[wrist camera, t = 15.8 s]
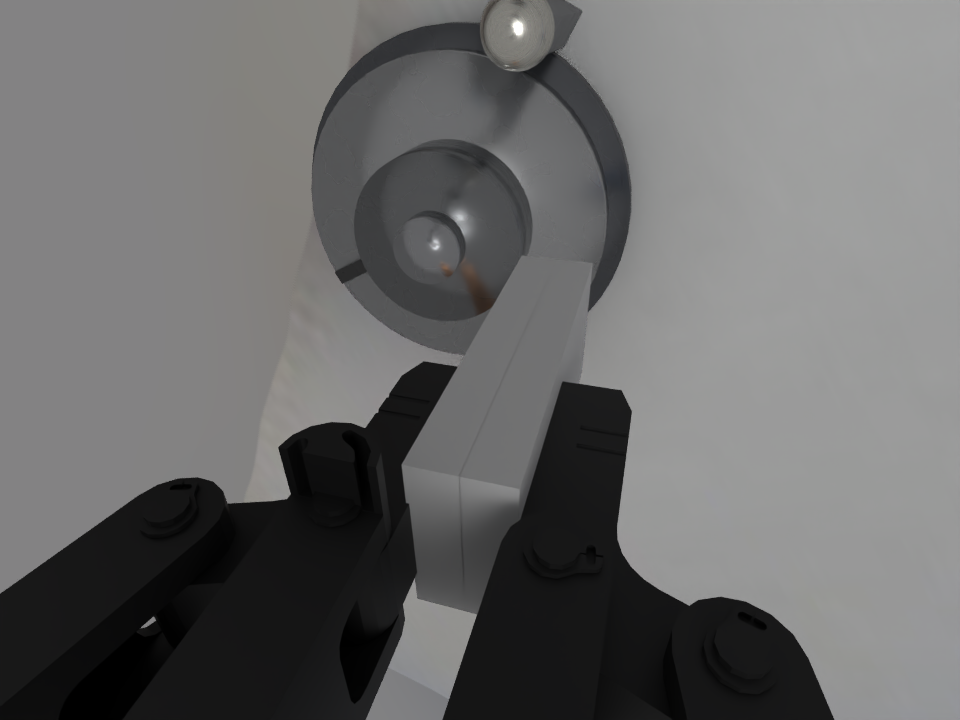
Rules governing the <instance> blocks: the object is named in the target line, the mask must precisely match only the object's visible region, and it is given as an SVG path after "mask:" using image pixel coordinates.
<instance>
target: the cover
mask: <svg viewBox="0 0 960 720" xmlns="http://www.w3.org/2000/svg"><path fill="white" fill-rule="evenodd" d="M532 233H533V221H532V214H531V209H530V205H529V201H528V198H527V196H526V194H525V191H524V189H523V187H522V185H521V184H520V182H519V180H518V179H517V177H516V176H515V175H514V173H513V172H512V171H511V169H510V168H509V167H508V166H507V165H506V164H505V163H504V162H503V161H502V160H500V159H499V158H498V157H497V156H495V155H494V154H492V153H491V152H489V151H488V150H486V149H484V148H482V147H480V146H478V145H475V144H473V143H469V142H466V141H462V140H455V139H439V140H432V141H428V142H425V143H422V144H420V145H418V146H416V147H413V148H412V149H410V150H408V151H406V152H405V153H403V154H401V155H400V156H398V157H396V158H395V159H393V160H391V161H389V162H388V163H386V164H385V165H383V166H382V167H381V168H379V169H378V170H377V171H376V172H375V173H374V174H373V175H372V176H371V177H370V179H369V180H368V181H367V182H366V184H365V186H364V187H363V189H362V191H361V193H360V196H359V198H358V201H357V205H356V209H355V215H354V235H355V241H356V246H357V249H358V252H359V256H360V258H361V260H362V263H363V265H364V267H365V269H366V270H367V272H368V274H369V276H370V277H371V278H372V280H373V281H374V283H375V284H376V285H377V286H378V287H379V289H380V290H381V291H382V292H383V293H384V294H385V295H386V296H387V297H388V298H390V299H391V300H392V301H393V302H395V303H396V304H397V305H399V306H401V307H402V308H404V309H406V310H407V311H409V312H411V313H414V314H416V315H418V316H421V317H424V318H428V319H432V320H438V321H459V320H465V319H469V318H472V317H475V316H478V315H480V314H482V313H484V312H486V311H487V310H489V309H490V308H492V307H493V305H494V303H495V301H496V300H497V298H498V296H499V294H500V293H501V291H502V289H503V287H504V286H505V284H506V282H507V281H508V279H509V277H510V275H511V274H512V272H513V270H514V268H515V267H516V265H517V263H518V261H519V260H520V258H521V256H527V255H528V252H529V249H530V245H531V241H532Z"/></svg>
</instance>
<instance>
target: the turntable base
mask: <svg viewBox="0 0 960 720" xmlns="http://www.w3.org/2000/svg"><path fill="white" fill-rule="evenodd" d="M447 48H461V49H470V50H478V51H482V52H485V51H484V49H483V46H482V43H481V38H480V23H465V22H453V23H446V24H439V25H432V26H425V27H421V28H417V29H414V30H411V31H408V32H405V33H402V34H399V35H397V36H395V37H393V38H391V39H389V40H387V41H385V42H383V43H382V44H380V45H379V46H377V47H376V48H374V49H373V50H372V51H370V52H369V53H368V54H366V55H365V56H363V57H362V58H361V59H360V60H359V61H358V62H357V63H356V64H355V65H354V66H353V67H352V68H351V69H350V70H349V71H348V73H347V74H346V75H345V77H344V78H343V79H342V81H341V82H340V83H339V85H338V86H337V88H336V89H335V91H334V93H333V95H332V96H331V98H330V100H329V102H328V104H327V106H326V108H325V111H324V113H323V116H322V119H321V122H320V124H319V127H318V132H317V136H316V141H315V145H314V154H313V162H314V156H315V151H316V148H317V144H318V141H319V138H320V134H321V132H322V130H323V128H324V125H325V123H326V121H327V119H328V117H329V115H330V114H331V112H332V111H333V109H334V107H335V106H336V104H337V103H338V101H339V100H340V99H341V98H342V97H343V95H344V94H345V93H346V92H347V91H348V90H349V89H350V88H351V86H353V85H354V84H355V83H356V82H357V81H359V80H360V79H361V78H362V77H364V76H365V75H366V74H367V73H369V72H371V71H372V70H374V69H376V68H377V67H379V66H381V65H383V64H384V63H387V62H389V61H392V60H395V59H397V58H400V57H403V56H406V55H410V54H414V53H419V52H424V51H429V50H433V49H447ZM528 70H529V71H530V72H532V73H534V74H535V75H537V76H539V77H540V78H541V79H542V80H544V81H545V82H546V83H547V84H548V85H550V86H551V87H552V88H553V89H554V90H556V91H557V92H558V93H559V94H560V96H561V97H562V98H563V99H564V100H565V101H566V102H567V103H568V104H569V105H570V106H571V108H572V109H573V110H574V112H575V113H576V114H577V116H578V117H579V119H580V120H581V122H582V123H583V124H584V126H585V127H586V129H587V131H588V133H589V135H590V137H591V139H592V141H593V143H594V145H595V147H596V150H597V152H598V155H599V158H600V161H601V164H602V167H603V170H604V175H605V180H606V184H607V190H608V203H609V217H608V231H607V236H606V241H605V246H604V250H603V254H602V257H601V260H600V263H599V266H598V269H597V272H596V275H595V277H594V279H593V281H592V283H591V285H590V295H589V305H588V312H589V311H590V309H591V308H592V307H593V306H594V305H595V303H596V302H597V301H598V300H599V299H600V297H601V296H602V295H603V293H604V291H605V290H606V288H607V287H608V285H609V283H610V282H611V280H612V278H613V276H614V274H615V271H616V269H617V267H618V265H619V262H620V260H621V257H622V253H623V250H624V246H625V243H626V239H627V235H628V229H629V222H630V215H631V181H630V173H629V166H628V161H627V158H626V154H625V150H624V147H623V143H622V140H621V138H620V135H619V133H618V130H617V128H616V126H615V123H614V121H613V119H612V117H611V115H610V114H609V112H608V110H607V108H606V107H605V105H604V103H603V102H602V100H601V98H600V97H599V96H598V94H597V93H596V92H595V90H594V89H593V88H592V87H591V85H590V84H589V83H588V82H587V80H586V79H585V78H584V77H583V76H582V75H581V74H580V73H579V72H578V71H577V70H576V69H575V68H574V67H573V66H572V65H570V64H569V63H568V62H567V61H566V60H565V59H564V58H562V57H561V56H559V55H558V54H557V53H555V52H552V53H549V54H547V55H546V56H545V57H544V59H543V60H542V61H541V62H540V63H538V64H537V65H536V66H534V67H532V68H530V69H528ZM312 169H313V165H312Z"/></svg>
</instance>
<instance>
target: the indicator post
mask: <svg viewBox="0 0 960 720" xmlns="http://www.w3.org/2000/svg"><path fill="white" fill-rule="evenodd" d="M581 13H582V10H580V9H578V8H577V7H575V6H573V5H572V4H570V3H569V2H567V1H565V0H490V1H489V2H488V4H487V5H486V7H485V9H484V11H483V14H482V17H481V22H480V38H481V43H482V46H483V49H484V51H485V53H486V54H487V56H488V57H489V59H490V60H491V61H492V62H493V63H494V64H496V65H497V66H498V67H500V68H502V69H504V70H507V71H512V72H519V71H525V70H528V69H530V68H532V67H534V66H536V65H537V64H538V63H540V62H541V61H542V60H543V59H544V57H545V56H546V55H547V54H549V53H552V52H554V51H556V50H558V49H560V48H562V47H564V46H565V44H566V42H567V40H568V38H569V37H570V35H571V33H572V31H573V29H574V27H575V25H576V23H577V21H578V19H579V17H580V15H581Z"/></svg>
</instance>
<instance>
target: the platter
mask: <svg viewBox="0 0 960 720" xmlns="http://www.w3.org/2000/svg"><path fill="white" fill-rule="evenodd" d="M439 139H455V140H462V141H466V142H469V143H473V144H475V145H478V146H480V147H482V148H484V149H486V150H488V151H489V152H491V153H492V154H494V155H495V156H497V157H498V158H499V159H500V160H502V161H503V162H504V163H505V164H506V165H507V166H508V167H509V168H510V169H511V171H512V172H513V173H514V175H515V176H516V177H517V179H518V180H519V182H520V184H521V185H522V187H523V189H524V191H525V194H526V196H527V198H528V201H529V205H530V209H531V214H532V221H533V233H532V241H531V245H530V249H529V252H528V255H527V256H531V257H541V258H550V259H560V260H569V261H579V262H588V263H593V265H592V275H591V283H592V281H593V279H594V277H595V275H596V272H597V269H598V266H599V263H600V260H601V257H602V254H603V250H604V246H605V241H606V236H607V231H608V217H609V203H608V190H607V184H606V180H605V175H604V170H603V167H602V164H601V161H600V158H599V155H598V152H597V150H596V147H595V145H594V143H593V141H592V139H591V137H590V135H589V133H588V131H587V129H586V127H585V126H584V124H583V123H582V122H581V120H580V119H579V117H578V116H577V114H576V113H575V112H574V110H573V109H572V108H571V106H570V105H569V104H568V103H567V102H566V101H565V100H564V99H563V98H562V97H561V96H560V94H559V93H558V92H557V91H556V90H554V89H553V88H552V87H551V86H550V85H548V84H547V83H546V82H545V81H544V80H542V79H541V78H540V77H539V76H537V75H535V74H534V73H532V72H530V71H529V70H525V71H519V72H512V71H507V70H504V69H502V68H500V67H498V66H497V65H496V64H494V63H493V62H492V61H491V60H490V59H489V57H488V56H487V54H486V53H485V52H482V51H478V50H470V49H461V48H447V49H433V50H429V51H424V52H419V53H414V54H410V55H406V56H403V57H400V58H397V59H395V60H392V61H389V62H387V63H384V64H383V65H381V66H379V67H377V68H376V69H374V70H372V71H371V72H369V73H367V74H366V75H365V76H364V77H362V78H361V79H360V80H359V81H357V82H356V83H355V84H354V85H353V86H351V88H350V89H349V90H348V91H347V92H346V93H345V94H344V95H343V97H342V98H341V99H340V100H339V101H338V103H337V104H336V106H335V107H334V109H333V111H332V112H331V114H330V115H329V117H328V119H327V121H326V123H325V125H324V128H323V130H322V132H321V134H320V138H319V141H318V144H317V148H316V151H315V156H314V162H313V169H312V201H313V210H314V215H315V220H316V225H317V229H318V232H319V235H320V238H321V241H322V244H323V246H324V249H325V251H326V253H327V255H328V258H329V260H330V262H331V264H332V265H333V267H334V269H335V273H336V275H337V276H338V278H339V279H340V281H341V283H342V284H343V283H344V284H345V286H346V287H347V289H348V290H349V291H350V293H351V294H352V295H353V296H354V297H355V298H356V299H357V300H358V302H359V303H360V304H361V305H362V306H363V307H364V308H365V309H366V310H367V311H369V312H370V313H371V314H372V315H373V316H374V317H375V318H376V319H378V320H379V321H380V322H382V323H383V324H384V325H386V326H387V327H388V328H390V329H392V330H393V331H395V332H397V333H398V334H400V335H402V336H403V337H405V338H407V339H410V340H412V341H414V342H416V343H418V344H420V345H423V346H426V347H429V348H432V349H435V350H439V351H444V352H448V353H453V354H463V355H465V354H466V352H467V350H468V348H469V347H470V345H471V343H472V341H473V340H474V338H475V336H476V334H477V333H478V331H479V329H480V327H481V326H482V324H483V322H484V321H485V319H486V317H487V315H488V314H489V312H490V310H491V308H490V309H489V310H487V311H486V312H484V313H482V314H480V315H478V316H475V317H472V318H469V319H465V320H459V321H438V320H432V319H428V318H424V317H421V316H418V315H416V314H414V313H411V312H409V311H407V310H406V309H404V308H402V307H401V306H399V305H397V304H396V303H395V302H393V301H392V300H391V299H390V298H388V297H387V296H386V295H385V294H384V293H383V292H382V291H381V290H380V289H379V287H378V286H377V285H376V284H375V283H374V281H373V280H372V278H371V277H370V276H369V274H368V272H367V270H366V269H365V267H364V265H363V263H362V260H361V258H360V256H359V252H358V249H357V246H356V241H355V235H354V215H355V209H356V205H357V201H358V198H359V196H360V193H361V191H362V189H363V187H364V186H365V184H366V182H367V181H368V180H369V179H370V177H371V176H372V175H373V174H374V173H375V172H376V171H377V170H378V169H379V168H381V167H382V166H383V165H385V164H386V163H388V162H389V161H391V160H393V159H395V158H396V157H398V156H400V155H401V154H403V153H405V152H406V151H408V150H410V149H412V148H413V147H416V146H418V145H420V144H422V143H425V142H428V141H432V140H439Z"/></svg>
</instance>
